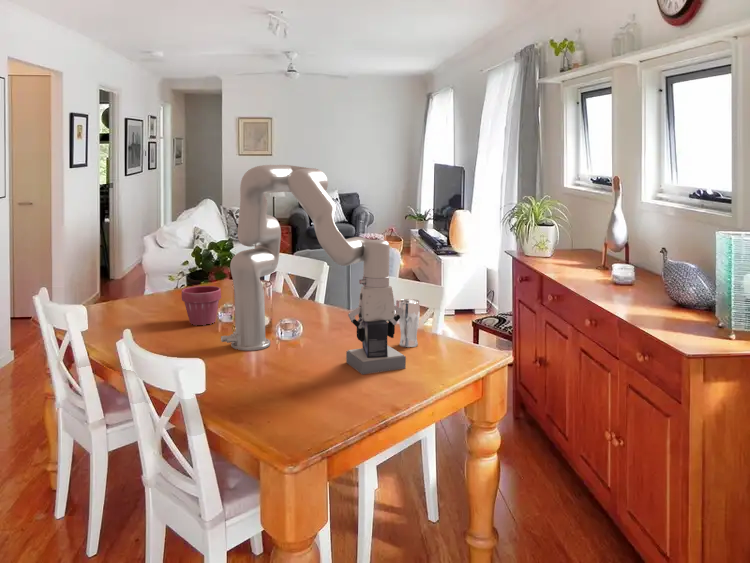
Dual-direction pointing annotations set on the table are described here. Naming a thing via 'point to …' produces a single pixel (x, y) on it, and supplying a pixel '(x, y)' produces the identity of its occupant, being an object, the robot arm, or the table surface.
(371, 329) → the small box
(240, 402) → the table surface
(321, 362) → the table surface
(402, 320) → the beer glass
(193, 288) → the plant pot
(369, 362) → the block
